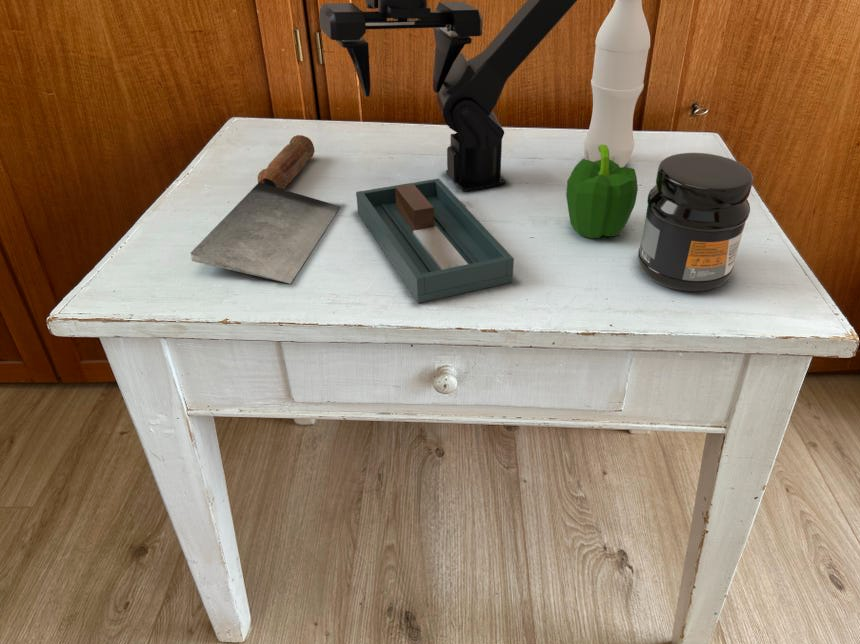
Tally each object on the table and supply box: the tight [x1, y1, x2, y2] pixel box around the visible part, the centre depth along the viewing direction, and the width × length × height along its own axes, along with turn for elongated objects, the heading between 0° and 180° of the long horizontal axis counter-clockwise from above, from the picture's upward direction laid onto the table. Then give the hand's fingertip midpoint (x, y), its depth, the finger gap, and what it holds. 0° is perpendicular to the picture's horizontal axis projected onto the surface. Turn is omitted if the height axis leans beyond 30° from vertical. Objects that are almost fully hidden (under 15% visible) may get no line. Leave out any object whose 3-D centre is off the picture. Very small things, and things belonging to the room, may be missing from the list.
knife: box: [395, 183, 468, 270], centre depth 82 cm, size 3×17×3 cm, turn 24°
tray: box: [355, 177, 515, 304], centre depth 82 cm, size 11×22×3 cm, turn 24°
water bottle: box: [583, 0, 651, 167], centre depth 95 cm, size 7×7×25 cm
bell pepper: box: [565, 145, 639, 239], centre depth 84 cm, size 8×8×10 cm
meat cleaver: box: [190, 134, 341, 285], centre depth 88 cm, size 34×11×4 cm, turn 173°
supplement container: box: [637, 152, 754, 292], centre depth 76 cm, size 10×10×12 cm
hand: (402, 94), depth 89 cm, fingers open, 9 cm apart
